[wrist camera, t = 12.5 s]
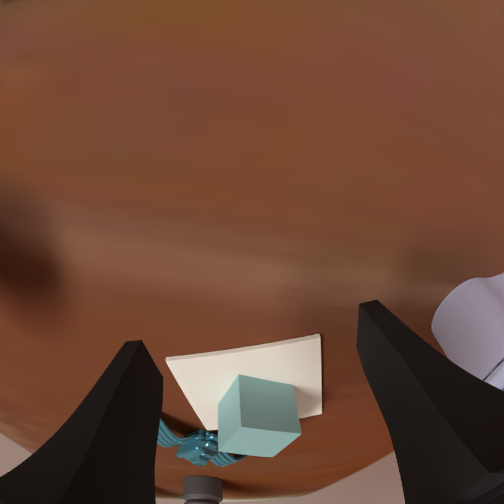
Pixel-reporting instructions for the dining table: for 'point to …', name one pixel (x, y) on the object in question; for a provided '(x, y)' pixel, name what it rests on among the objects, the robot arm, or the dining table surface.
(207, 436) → the flying bird
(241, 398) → the teal cube
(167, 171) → the dining table surface
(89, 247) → the dining table surface
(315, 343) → the mat
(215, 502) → the candle holder
